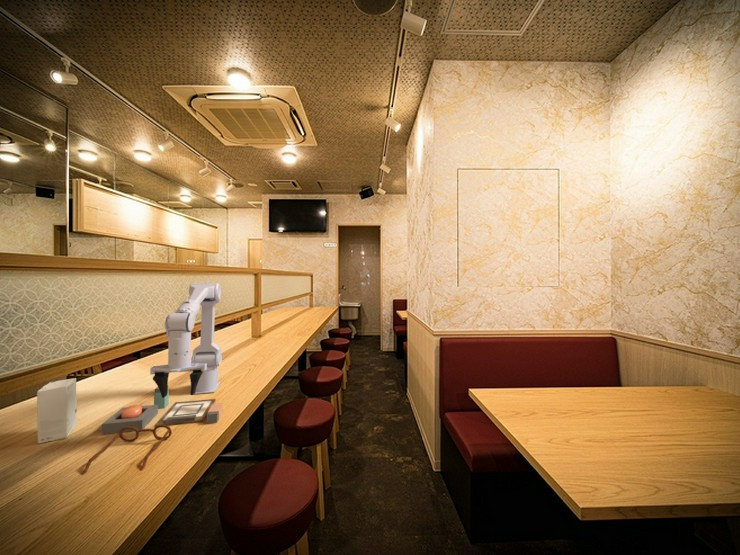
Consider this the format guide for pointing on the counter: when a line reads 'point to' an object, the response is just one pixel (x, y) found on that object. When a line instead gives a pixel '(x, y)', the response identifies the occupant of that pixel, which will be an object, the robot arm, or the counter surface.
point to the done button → (132, 412)
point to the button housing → (129, 420)
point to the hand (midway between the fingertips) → (179, 395)
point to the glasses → (134, 440)
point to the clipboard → (186, 412)
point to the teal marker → (160, 399)
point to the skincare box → (56, 410)
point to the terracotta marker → (214, 413)
